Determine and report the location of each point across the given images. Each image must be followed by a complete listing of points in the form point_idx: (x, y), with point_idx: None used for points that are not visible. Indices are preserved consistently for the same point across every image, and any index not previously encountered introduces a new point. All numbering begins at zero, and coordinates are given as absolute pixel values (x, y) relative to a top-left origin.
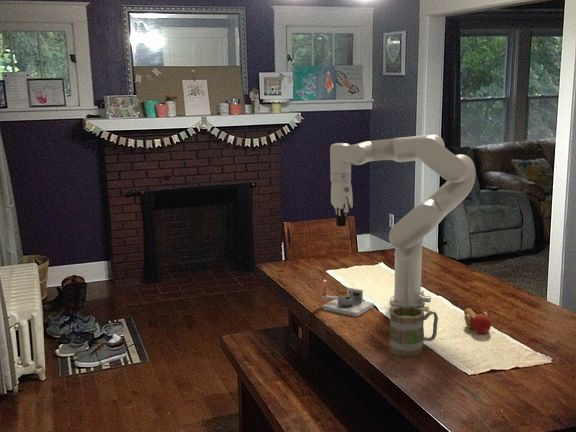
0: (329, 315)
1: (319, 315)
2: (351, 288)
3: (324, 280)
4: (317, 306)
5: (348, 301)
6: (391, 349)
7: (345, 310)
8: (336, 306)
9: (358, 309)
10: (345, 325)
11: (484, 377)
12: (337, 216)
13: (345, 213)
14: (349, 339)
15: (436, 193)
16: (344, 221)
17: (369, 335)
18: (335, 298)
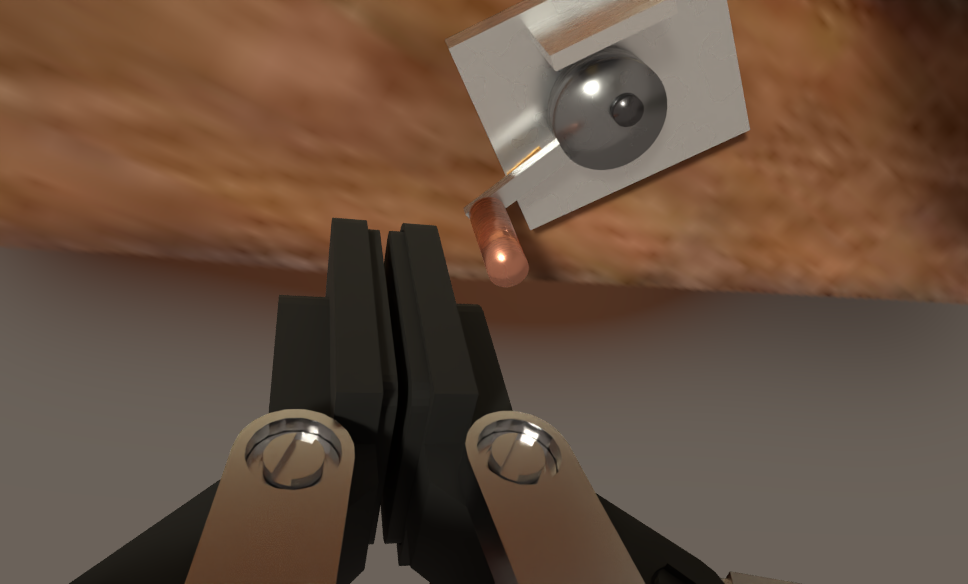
0: (617, 227)
1: (584, 267)
2: (586, 51)
3: (508, 268)
4: (462, 218)
5: (658, 129)
6: None
7: (677, 162)
8: (593, 173)
9: (721, 90)
10: (769, 225)
11: None
12: (403, 551)
13: (627, 524)
14: (878, 281)
15: None
16: (489, 337)
17: (926, 195)
18: (555, 166)
